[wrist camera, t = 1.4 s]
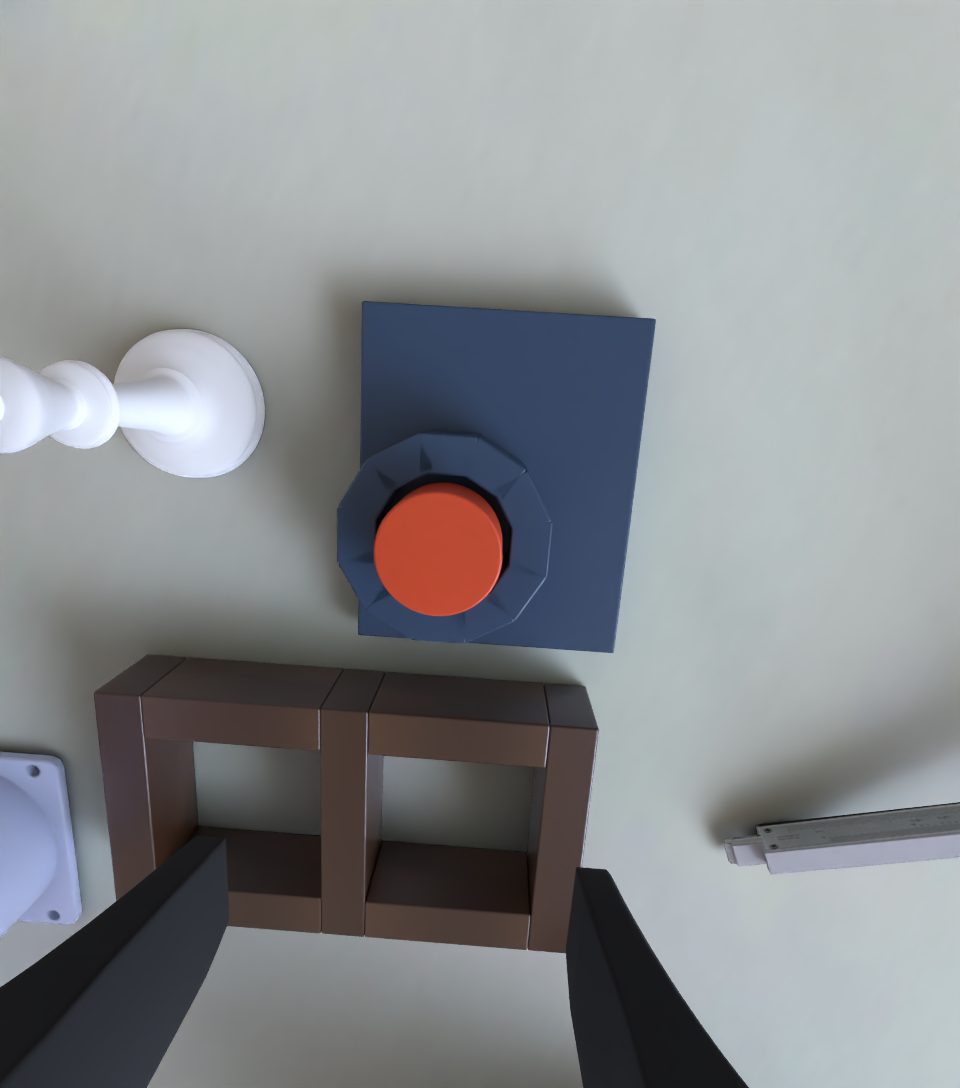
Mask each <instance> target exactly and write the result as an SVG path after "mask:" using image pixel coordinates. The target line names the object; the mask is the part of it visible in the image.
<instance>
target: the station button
mask: <svg viewBox="0 0 960 1088" xmlns="http://www.w3.org/2000/svg"><path fill="white" fill-rule="evenodd" d="M374 562H375V567H376V570H377V573H378V576H379V578H380V580H381V582H382V584H383V585H384V587H385V588H386V590H387V591H388V592H389V593H390V595H391V596H392V597H393V598H395V599H396V600H397V601H398V602H399V603H401V604H402V605H404V606H405V607H407V608H409V609H411V610H413V611H416V612H418V613H422V614H425V615H431V616H448V615H454V614H458V613H461V612H464V611H466V610H468V609H470V608H472V607H474V606H475V605H477V604H478V603H479V602H481V601H482V600H483V599H484V598H485V597H486V596H487V595H488V594H489V592H490V591H491V590H492V588H493V587H494V585H495V583H496V581H497V579H498V577H499V574H500V570H501V566H502V532H501V527H500V523H499V520H498V518H497V516H496V514H495V512H494V510H493V509H492V507H491V506H490V505H489V504H488V502H487V501H486V500H485V499H484V498H483V497H481V496H480V495H479V494H477V493H476V492H474V491H473V490H471V489H469V488H467V487H464V486H462V485H458V484H454V483H431V484H428V485H424V486H421V487H419V488H417V489H415V490H413V491H412V492H410V493H409V494H407V495H406V496H405V497H404V498H403V499H402V500H401V501H399V502H398V503H397V504H396V505H395V506H394V507H393V508H392V509H391V510H390V511H389V512H388V513H387V515H386V516H385V517H384V519H383V520H382V522H381V524H380V526H379V528H378V531H377V533H376V537H375V542H374Z"/></svg>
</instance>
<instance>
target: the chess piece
mask: <svg viewBox="0 0 960 1088" xmlns="http://www.w3.org/2000/svg"><path fill="white" fill-rule="evenodd" d="M264 422H265V403H264V397H263V392H262V389H261V386H260V383H259V381H258V378H257V376H256V374H255V372H254V371H253V369H252V367H251V366H250V364H249V363H248V362H247V360H246V359H245V358H244V357H243V356H242V355H241V354H240V353H239V352H238V351H237V350H236V349H235V348H234V347H233V346H231V345H230V344H229V343H227V342H226V341H224V340H222V339H221V338H219V337H217V336H214V335H212V334H209V333H206V332H203V331H199V330H192V329H174V330H164V331H160V332H156V333H153V334H151V335H149V336H147V337H145V338H143V339H141V340H140V341H139V342H137V343H136V344H135V345H134V346H133V347H132V348H131V349H130V350H129V351H128V352H127V353H126V355H125V356H124V358H123V359H122V361H121V363H120V365H119V367H118V370H117V373H116V376H115V380H114V384H112V383H111V382H110V381H109V379H108V378H107V377H106V376H105V375H104V374H103V373H102V372H101V371H100V370H98V369H97V368H95V367H94V366H92V365H90V364H88V363H85V362H82V361H78V360H63V361H59V362H56V363H53V364H50V365H48V366H46V367H45V368H43V369H42V370H41V371H40V372H39V373H38V374H37V373H35V372H33V371H32V370H31V369H29V368H27V367H26V366H24V365H22V364H20V363H17V362H15V361H13V360H11V359H8V358H5V357H2V356H0V453H14V452H18V451H21V450H24V449H26V448H28V447H30V446H32V445H34V444H36V443H38V442H39V441H41V440H42V439H43V438H44V437H46V436H48V435H49V436H50V437H51V438H53V439H54V440H56V441H58V442H60V443H62V444H65V445H68V446H71V447H75V448H82V449H87V448H94V447H97V446H99V445H102V444H103V443H105V442H106V441H108V440H109V439H110V438H111V437H112V435H113V434H114V433H115V431H116V429H117V427H118V426H120V428H121V430H122V432H123V434H124V436H125V437H126V439H127V440H128V442H129V443H130V445H131V446H132V447H133V448H134V449H135V451H136V452H137V453H138V454H139V455H140V456H141V457H143V458H144V459H145V460H146V461H148V462H149V463H150V464H152V465H153V466H155V467H157V468H159V469H161V470H163V471H165V472H167V473H170V474H173V475H177V476H182V477H196V478H208V477H215V476H219V475H223V474H225V473H228V472H230V471H232V470H234V469H235V468H237V467H238V466H240V465H241V464H242V463H243V462H245V461H246V460H247V459H248V457H249V456H250V455H251V454H252V453H253V451H254V450H255V448H256V446H257V444H258V442H259V440H260V438H261V435H262V432H263V428H264Z"/></svg>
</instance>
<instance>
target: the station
mask: <svg viewBox="0 0 960 1088" xmlns="http://www.w3.org/2000/svg"><path fill="white" fill-rule="evenodd" d="M655 324H656V320H655V319H650V318H634V317H617V316H601V315H584V314H568V313H551V312H535V311H518V310H502V309H486V308H469V307H453V306H436V305H420V304H403V303H387V302H370V301H363V302H362V356H361V440H360V471H359V472H358V474H357V476H356V477H355V479H354V481H353V482H352V484H351V486H350V487H349V489H348V491H347V492H346V494H345V495H344V497H343V499H342V500H341V502H340V504H339V507H338V509H337V562H339V566H340V568H341V569H342V571H343V573H344V575H345V576H346V578H347V580H348V582H349V583H350V585H351V587H352V589H353V590H354V592H355V594H356V596H357V597H358V599H359V607H358V634H359V635H369V636H383V637H397V638H410V639H412V640H423V641H437V642H451V643H465V642H466V643H481V644H494V645H508V646H522V647H536V648H550V649H564V650H578V651H592V652H606V653H613V652H614V646H615V638H616V630H617V622H618V614H619V607H620V599H621V591H622V583H623V575H624V567H625V559H626V552H627V544H628V536H629V528H630V520H631V512H632V504H633V497H634V489H635V481H636V473H637V465H638V457H639V449H640V441H641V434H642V426H643V418H644V410H645V402H646V394H647V386H648V379H649V371H650V363H651V355H652V347H653V339H654V331H655ZM431 483H454V484H458V485H462V486H464V487H467V488H469V489H471V490H473V491H474V492H476V493H477V494H479V495H480V496H481V497H483V498H484V499H485V500H486V501H487V502H488V504H489V505H490V506H491V507H492V509H493V510H494V512H495V514H496V516H497V518H498V520H499V523H500V527H501V532H502V566H501V570H500V574H499V577H498V579H497V581H496V583H495V585H494V587H493V588H492V590H491V591H490V592H489V594H488V595H487V596H486V597H485V598H484V599H483V600H482V601H481V602H479V603H478V604H477V605H475V606H474V607H472V608H470V609H468V610H466V611H464V612H461V613H458V614H454V615H448V616H431V615H425V614H422V613H418V612H416V611H413V610H411V609H409V608H407V607H405V606H404V605H402V604H401V603H399V602H398V601H397V600H396V599H395V598H393V597H392V596H391V595H390V593H389V592H388V591H387V590H386V588H385V587H384V585H383V584H382V582H381V580H380V578H379V576H378V573H377V570H376V567H375V562H374V542H375V537H376V533H377V531H378V528H379V526H380V524H381V522H382V520H383V519H384V517H385V516H386V515H387V513H388V512H389V511H390V510H391V509H392V508H393V507H394V506H395V505H396V504H397V503H398V502H399V501H401V500H402V499H403V498H404V497H405V496H406V495H407V494H409V493H410V492H412V491H413V490H415V489H417V488H419V487H421V486H424V485H428V484H431Z"/></svg>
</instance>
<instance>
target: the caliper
mask: <svg viewBox="0 0 960 1088" xmlns="http://www.w3.org/2000/svg"><path fill="white" fill-rule="evenodd" d="M756 829H757V834H758V835H755V836H744V837H734V838H728V839H725V840H724V841H723V843H724V846H725V850H726V853H727V857H728V860H729V862H730V863H731V864H737V865H738V866H749V865H759V864H767V867H768V870H769V872H770V873H771V874H780V873H792V872H803V871H814V870H825V869H837V868H848V867H859V866H871V865H882V864H893V863H904V862H915V861H926V860H937V859H947V858H958V857H960V802H958V803H949V804H940V805H931V806H922V807H913V808H904V809H895V810H886V811H877V812H868V813H859V814H850V815H841V816H832V817H823V818H814V819H805V820H796V821H787V822H778V823H769V824H761V825H757V826H756Z"/></svg>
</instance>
